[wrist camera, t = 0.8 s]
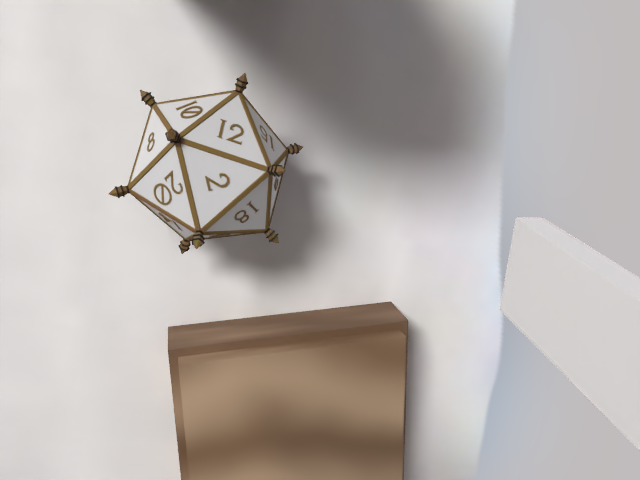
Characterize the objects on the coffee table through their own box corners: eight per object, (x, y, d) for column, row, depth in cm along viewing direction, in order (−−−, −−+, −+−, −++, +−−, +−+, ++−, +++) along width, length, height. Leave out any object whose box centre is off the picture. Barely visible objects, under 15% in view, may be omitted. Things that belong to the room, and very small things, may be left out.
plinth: (387, 482, 43) (408, 523, 39) (187, 519, 40) (189, 566, 36) (390, 301, 39) (414, 327, 35) (168, 327, 36) (167, 358, 32)
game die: (207, 179, 37) (180, 317, 31) (107, 80, 32) (49, 225, 25) (333, 126, 34) (331, 271, 28) (246, 3, 28) (218, 151, 22)
